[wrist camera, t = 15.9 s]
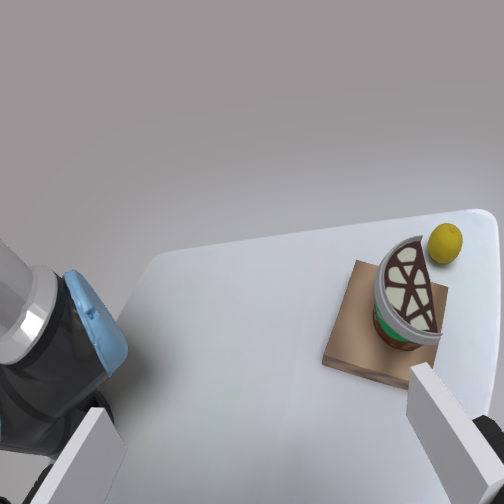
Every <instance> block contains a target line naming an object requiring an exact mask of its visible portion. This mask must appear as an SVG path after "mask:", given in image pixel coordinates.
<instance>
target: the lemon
mask: <svg viewBox="0 0 504 504" xmlns="http://www.w3.org/2000/svg"><path fill="white" fill-rule="evenodd" d="M462 242H463V240H462V234H461V232H460V230H459V229H458V228H457V227H456V226H455V225H453V224H450V223H444V224H441V225H439V226H438V227H437V228H436V229H435V230H434V231H433V232H432V234H431V236H430V238H429V242H428V250H429V253H430V256H431V257H432V258H433V259H434V260H435V261H436V262H438V263H443V264H445V263H449V262H451V261H453V260H454V259H455V258H456V257H457V256H458V254H459V252H460V251H461V247H462Z"/></svg>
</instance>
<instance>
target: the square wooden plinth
mask: <svg viewBox="0 0 504 504" xmlns="http://www.w3.org/2000/svg"><path fill="white" fill-rule="evenodd" d="M378 267H379V266H376V265H372V264H369V263H366V262H362V261H359V260H356V262H355V265H354V269H353V272H352V275H351V278H350V281H349V284H348V287H347V290H346V293H345V296H344V299H343V302H342V305H341V308H340V311H339V314H338V317H337V320H336V322H335V325H334V328H333V331H332V333H331V336H330V339H329V341H328V344H327V347H326V349H325V352H324V355H323V360H322V365H325V366H328V367H332V368H335V369H338V370H341V371H344V372H347V373H350V374H353V375H357V376H360V377H363V378H366V379H370V380H373V381H376V382H380V383H383V384H387V385H390V386H394V387H397V388H401V389H405V390H408V389H409V376H410V367H412V366H415V365H418V364H422V363H425V362H427V363H428V365H429V366H430V367H431V368H432V369H433V365H434V361H435V357H436V352H437V348H438V343H439V342H438V343H437V345H423V346H421V347H419V348H417V349H415V350H413V351H403V350H399V349H396V348H393V347H391V346H390V345H388V344H387V343H385V342H384V341H383V340H382V339H381V337H380V336H379V335H378V333H377V331H376V329H375V326H374V323H373V309H374V304H375V300H376V298H375V293H374V283H375V276H376V272H377V269H378ZM430 283H431V289H432V296H433V304H434V311H435V318H436V323H437V327H438V333H441V328H442V323H443V318H444V312H445V306H446V300H447V293H448V287H446V286H443V285H439V284H436V283H433V282H430Z"/></svg>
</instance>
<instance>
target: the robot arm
mask: <svg viewBox="0 0 504 504" xmlns="http://www.w3.org/2000/svg"><path fill="white" fill-rule="evenodd" d="M127 355H128V344H127V341H126V339H125V337H124V335H123V333H122V331H121V330H120V328H119V326H118V325H117V323H116V322H115V320H114V319H113V317H112V316H111V314H110V313H109V311H108V310H107V308H106V307H105V305H104V304H103V303H102V301H101V299H100V298H99V297H98V295H97V294H96V293H95V291H94V290H93V288H92V287H91V286H90V285H89V283H88V282H87V281H86V280H85V278H84V277H83V276H82V275H81V274H80V273H79V272H77V271H76V270H70V271H69V272H65V273H64V275H63V277H62V278H61V277H59V276H58V275H57V274H56V273H55V272H54V271H53V270H52V269H51V268H50V267H48V266H46V265H36V266H30V267H28V266H27V265H26V264H25V263H24V262H23V261H22V260H21V259H20V258H19V257H18V256H17V255H16V254H15V253H14V252H13V251H12V250H11V249H10V248H9V247H8V246H7V245H6V244H5V243H4V242H3V241H2V240H1V239H0V450H5V451H12V452H19V453H27V454H35V455H44V456H48V457H50V458H51V459H53V460H55V461H56V462H55V464H50V465H49V466H48V467H47V468H45V469H44V470H43V471H42V473H41V474H40V476H39V478H38V481H36V482H35V484H34V487H32V489H31V490H30V492H29V493H28V495H27V497H26V498H25V500H24V502H23V503H22V504H104V502H105V499H106V497H107V495H108V492H109V490H110V488H111V485H112V483H113V481H114V479H115V476H116V474H117V472H118V470H119V467H120V465H121V463H122V461H123V458H124V456H125V454H126V452H127V447H126V446H125V444H124V442H123V440H122V439H121V437H120V435H119V434H118V432H117V430H116V428H115V427H114V422H113V417H112V413H111V410H110V408H109V405H108V403H107V402H106V400H105V398H104V397H103V396H102V395H101V393H100V392H99V391H97V390H96V388H98V387H99V386H100V385H101V384H102V383H103V382H104V381H106V380H107V379H108V378H109V377H111V376H112V375H113V372H114V371H115V370H116V369H117V368H118V367H119V366H120V365H121V364H122V363H123V362H124V361H125V360H126V358H127ZM406 416H407V418H408V420H409V422H410V423H411V425H412V427H413V429H414V431H415V433H416V435H417V436H418V438H419V440H420V442H421V444H422V446H423V448H424V450H425V452H426V454H427V456H428V457H429V459H430V461H431V463H432V465H433V467H434V469H435V471H436V473H437V475H438V477H439V479H440V481H441V483H442V485H443V487H444V489H445V491H446V493H447V495H448V498H449V500H450V502H451V504H504V432H502V431H501V429H500V427H499V426H498V425H497V424H496V423H495V421H494V420H492V419H490V418H488V417H487V416H485V415H482V416H480V417H478V418H476V419H474V420H471V419H470V417H469V416H468V415H467V413H466V412H465V411H464V409H463V408H462V407H461V405H460V404H459V403H458V401H457V400H456V399H455V398H454V396H453V395H452V394H451V392H450V391H449V390H448V388H447V387H446V386H445V385H444V383H443V382H442V381H441V380H440V378H439V377H438V376H437V375H436V373H435V372H434V371H433V370H432V368H431V367H430V366H429V365H428V363H427V362H425V363H422V364H418V365H415V366H412V367H410V376H409V389H408V400H407V409H406ZM0 504H11V503H10V502H9V501H8V500H7V499H6V498H4V497H0Z"/></svg>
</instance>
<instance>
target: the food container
mask: <svg viewBox="0 0 504 504" xmlns="http://www.w3.org/2000/svg"><path fill="white" fill-rule="evenodd" d="M422 237H423V235H419V236H414V237H410V238H408V239H406V240H404V241H402V242H400V243H399V244H397V245H396V246H394V247H393V248H392V249H391V250H390V251H389V253H388V254H387V255H386V256H385V257H384V259H383V260H382V262H381V263H380V265H379V267H378V269H377V272H376V276H375V283H374V293H375V298H376V300H375V304H374V309H373V323H374V326H375V329H376V331H377V333H378V335H379V336H380V337H381V339H382V340H383V341H384V342H385V343H387V344H388V345H390V346H391V347H393V348H396V349H399V350H403V351H413V350H415V349H417V348H419V347H421V346H423V345H437V343H438V342H439V340H440V339H441V337H440V336H441V335H442V334H443V333H438V327H437V323H436V318H435V311H434V304H433V296H432V289H431V283H430V279H429V275H428V272H427V268H426V264H425V260H424V256H423V251H422V247H421V243H420V242H421V240H422Z"/></svg>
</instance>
